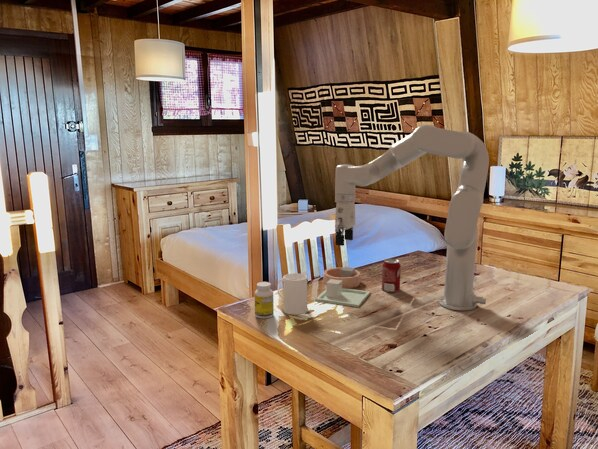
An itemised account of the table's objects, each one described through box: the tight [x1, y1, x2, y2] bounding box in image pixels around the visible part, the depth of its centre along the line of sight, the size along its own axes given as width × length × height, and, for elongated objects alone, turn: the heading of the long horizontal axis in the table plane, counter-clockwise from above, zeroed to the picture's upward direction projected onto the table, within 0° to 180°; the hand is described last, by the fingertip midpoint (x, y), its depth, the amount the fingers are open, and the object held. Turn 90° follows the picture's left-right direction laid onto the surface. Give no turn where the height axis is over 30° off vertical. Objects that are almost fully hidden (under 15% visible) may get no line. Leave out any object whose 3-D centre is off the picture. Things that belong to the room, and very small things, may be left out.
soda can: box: [381, 258, 402, 293], centre depth 188 cm, size 7×7×12 cm
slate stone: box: [340, 266, 356, 277], centre depth 196 cm, size 4×4×6 cm
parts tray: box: [315, 288, 371, 308], centre depth 181 cm, size 16×15×1 cm
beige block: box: [325, 279, 342, 299], centre depth 182 cm, size 4×4×6 cm
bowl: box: [322, 267, 361, 289], centre depth 197 cm, size 14×14×4 cm
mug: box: [276, 272, 308, 316], centre depth 169 cm, size 12×8×12 cm
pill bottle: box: [254, 281, 275, 319], centre depth 164 cm, size 6×6×11 cm
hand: (344, 242), depth 188 cm, fingers open, 9 cm apart
